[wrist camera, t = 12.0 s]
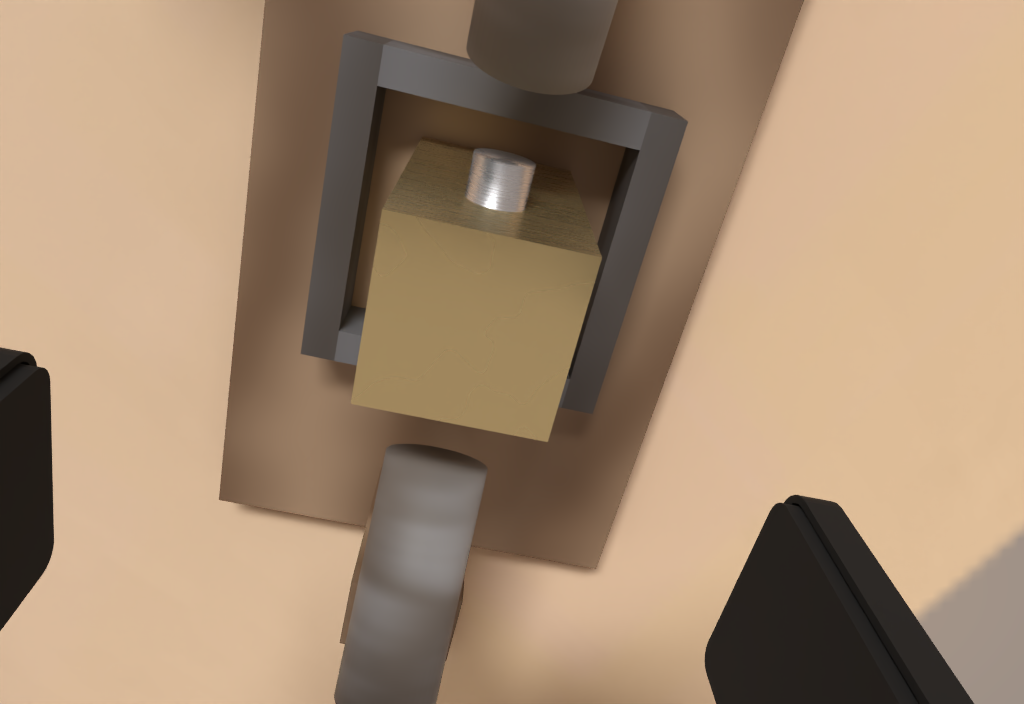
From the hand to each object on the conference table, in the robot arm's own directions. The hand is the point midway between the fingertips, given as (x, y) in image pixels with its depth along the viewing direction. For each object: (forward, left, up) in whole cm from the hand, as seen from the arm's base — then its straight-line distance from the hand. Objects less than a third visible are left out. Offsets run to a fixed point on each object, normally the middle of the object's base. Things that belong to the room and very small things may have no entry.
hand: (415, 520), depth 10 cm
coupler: (0, 0, -15) cm, 14 cm away
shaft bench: (+1, 0, -16) cm, 16 cm away
